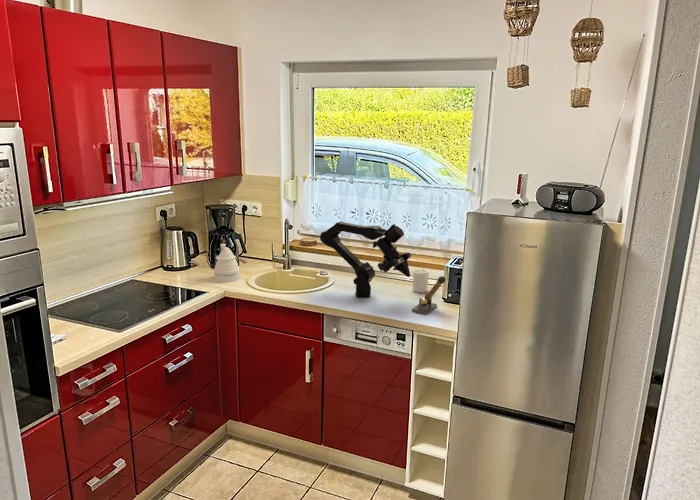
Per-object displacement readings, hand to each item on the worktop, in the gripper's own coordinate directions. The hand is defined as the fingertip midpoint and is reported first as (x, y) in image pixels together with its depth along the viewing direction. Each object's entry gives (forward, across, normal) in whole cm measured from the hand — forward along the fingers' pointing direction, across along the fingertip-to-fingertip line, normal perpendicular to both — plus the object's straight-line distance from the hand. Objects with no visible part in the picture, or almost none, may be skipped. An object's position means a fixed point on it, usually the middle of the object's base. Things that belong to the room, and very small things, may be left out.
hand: (409, 276), depth 234 cm
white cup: (+7, -22, -11) cm, 25 cm away
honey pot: (-58, +13, -77) cm, 98 cm away
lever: (+13, 0, -1) cm, 13 cm away
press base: (+15, +2, -3) cm, 16 cm away
